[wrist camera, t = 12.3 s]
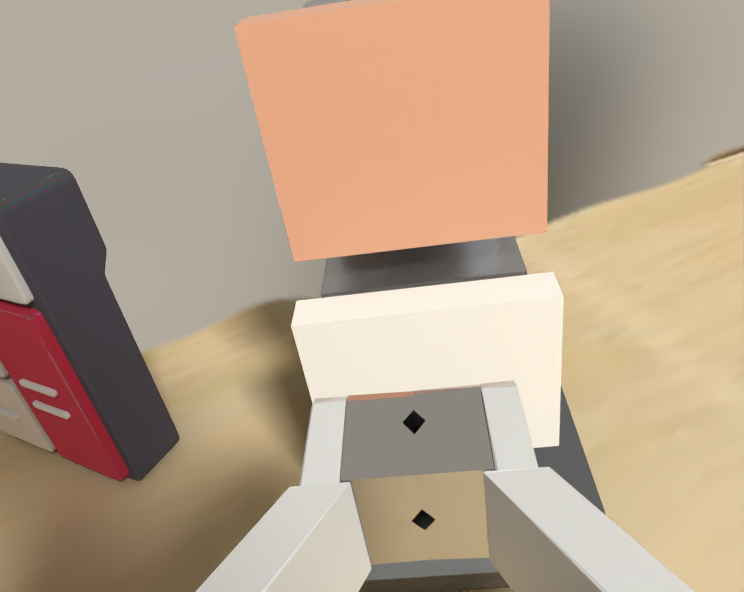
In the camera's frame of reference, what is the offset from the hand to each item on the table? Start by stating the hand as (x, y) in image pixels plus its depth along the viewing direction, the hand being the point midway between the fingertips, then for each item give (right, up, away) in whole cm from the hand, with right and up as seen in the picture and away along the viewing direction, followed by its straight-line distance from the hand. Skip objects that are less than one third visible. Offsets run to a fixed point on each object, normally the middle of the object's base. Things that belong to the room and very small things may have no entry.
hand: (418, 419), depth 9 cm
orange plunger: (+1, +6, +15) cm, 16 cm away
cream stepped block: (+2, -2, +18) cm, 18 cm away
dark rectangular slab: (-16, -6, +24) cm, 29 cm away
